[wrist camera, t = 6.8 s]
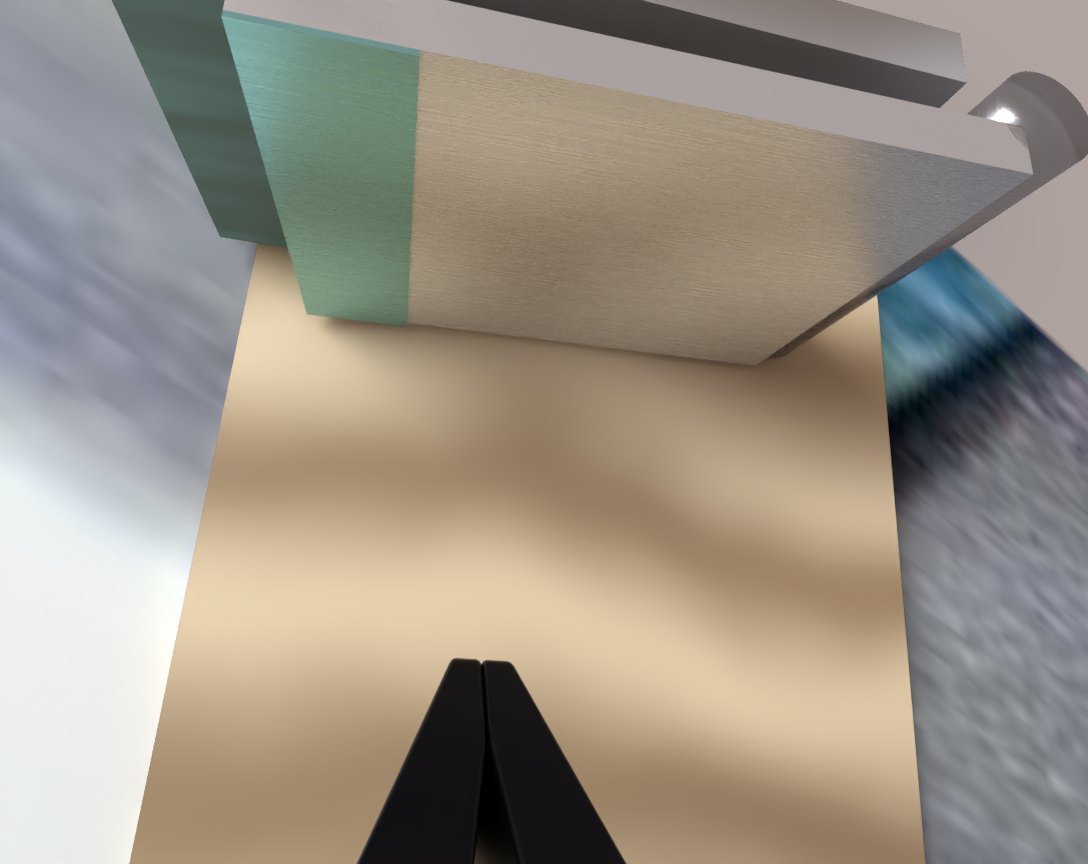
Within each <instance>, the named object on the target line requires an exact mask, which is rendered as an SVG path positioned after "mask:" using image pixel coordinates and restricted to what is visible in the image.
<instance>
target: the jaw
mask: <svg viewBox="0 0 1088 864" xmlns="http://www.w3.org/2000/svg"><path fill="white" fill-rule="evenodd" d="M221 17H222V21H223V24H224V27H225V31H226V34H227V38H228V41H229V45H230V48H231V52H232V55H233V59H234V62H235V66H236V69H237V73H238V76H239V80H240V83H241V87H242V90H243V94H244V97H245V101H246V104H247V107H248V111H249V114H250V118H251V121H252V125H253V128H254V132H255V135H256V139H257V142H258V146H259V149H260V153H261V156H262V160H263V163H264V167H265V170H266V174H267V177H268V181H269V184H270V188H271V191H272V194H273V198H274V201H275V205H276V208H277V212H278V215H279V219H280V222H281V226H282V229H283V233H284V236H285V240H286V243H287V247H288V250H289V254H290V257H291V261H292V264H293V268H294V271H295V275H296V278H297V281H298V285H299V288H300V292H301V295H302V299H303V302H304V306H305V309H306V313H307V314H308V315H317V316H325V317H333V318H341V319H349V320H358V321H366V322H374V323H382V324H390V325H398V326H407V323H412V324H420V325H428V326H437V327H445V328H453V329H461V330H469V331H477V332H485V333H493V334H501V335H510V336H518V337H526V338H534V339H542V340H550V341H558V342H566V343H574V344H583V345H591V346H599V347H607V348H615V349H623V350H631V351H639V352H648V353H656V354H664V355H672V356H680V357H688V358H696V359H704V360H712V361H721V362H729V363H737V364H745V365H753V366H756V365H757V364H758V363H760V362H761V361H763V360H764V359H766V358H767V357H769V358H780V357H783V356H785V355H787V354H789V353H790V352H792V351H793V350H795V349H796V348H798V347H799V346H801V345H802V344H804V343H805V342H807V341H808V340H810V339H811V338H813V337H814V336H816V335H817V334H819V333H820V332H822V331H823V330H825V329H826V328H828V327H830V326H831V325H833V324H834V323H836V322H837V321H839V320H840V319H842V318H843V317H845V316H846V315H848V314H849V313H851V312H852V311H854V310H855V309H857V308H858V307H860V306H861V305H863V304H864V303H866V302H867V301H869V300H870V299H872V298H873V297H875V296H876V295H878V294H879V293H881V292H882V291H884V290H886V289H887V288H889V287H890V286H892V285H893V284H895V283H896V282H898V281H899V280H901V279H902V278H904V277H905V276H907V275H908V274H910V273H911V272H913V271H914V270H916V269H917V268H919V267H920V266H922V265H923V264H925V263H926V262H928V261H929V260H931V259H932V258H934V257H935V256H937V255H938V254H940V253H941V252H943V251H945V250H946V249H948V248H949V247H951V246H952V245H954V244H955V243H957V242H958V241H960V240H961V239H962V238H964V237H966V236H967V235H969V234H970V233H972V232H973V231H975V230H976V229H978V228H979V227H981V226H982V225H984V224H985V223H987V222H988V221H990V220H991V219H993V218H994V217H996V216H997V215H999V214H1000V213H1002V212H1003V211H1005V210H1006V209H1008V208H1010V207H1011V206H1012V205H1014V204H1016V203H1017V202H1018V201H1020V200H1022V199H1023V198H1025V197H1026V196H1028V195H1029V194H1031V193H1032V192H1034V191H1035V190H1037V189H1038V188H1040V187H1041V186H1043V185H1044V184H1046V183H1047V182H1049V181H1050V180H1052V179H1053V178H1055V177H1056V176H1058V175H1059V174H1061V173H1063V172H1064V171H1065V170H1067V169H1068V168H1070V167H1071V166H1073V165H1075V164H1076V163H1077V162H1079V161H1081V160H1082V159H1083V158H1084V157H1085V156H1086V155H1087V154H1088V116H1087V114H1086V112H1085V110H1084V109H1083V107H1082V106H1081V104H1080V102H1079V101H1078V100H1077V99H1076V97H1075V96H1074V95H1073V94H1072V93H1071V92H1070V91H1069V90H1068V89H1067V88H1065V87H1064V86H1063V85H1062V84H1060V83H1059V82H1057V81H1056V80H1054V79H1052V78H1050V77H1048V76H1046V75H1043V74H1040V73H1036V72H1027V71H1026V72H1019V73H1016V74H1014V75H1012V76H1011V77H1010V78H1008V79H1007V80H1006V81H1004V82H1003V83H1002V84H1001V85H1000V86H999V87H998V88H996V89H995V90H994V91H993V92H992V93H991V94H990V95H988V96H987V97H986V98H985V99H984V100H983V101H982V102H980V103H979V104H978V105H977V106H976V107H975V108H974V109H972V110H971V111H970V112H969V113H968V114H963V113H959V112H954V111H949V110H945V109H940V108H936V107H931V106H927V105H922V104H918V103H913V102H909V101H904V100H899V99H895V98H890V97H886V96H881V95H877V94H872V93H867V92H863V91H858V90H854V89H849V88H845V87H840V86H835V85H831V84H826V83H822V82H817V81H813V80H808V79H804V78H799V77H794V76H790V75H785V74H781V73H776V72H772V71H767V70H762V69H758V68H753V67H749V66H744V65H740V64H735V63H731V62H726V61H721V60H717V59H712V58H708V57H703V56H699V55H694V54H689V53H685V52H680V51H676V50H671V49H667V48H662V47H658V46H653V45H648V44H644V43H639V42H635V41H630V40H626V39H621V38H616V37H612V36H607V35H603V34H598V33H594V32H589V31H584V30H580V29H575V28H571V27H566V26H562V25H557V24H553V23H548V22H543V21H539V20H534V19H530V18H525V17H521V16H516V15H511V14H507V13H502V12H498V11H493V10H489V9H484V8H480V7H475V6H470V5H466V4H461V3H457V2H452V1H448V0H225V1H224V6H223V10H222V15H221Z"/></svg>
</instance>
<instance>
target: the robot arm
mask: <svg viewBox="0 0 1088 864" xmlns="http://www.w3.org/2000/svg"><path fill="white" fill-rule="evenodd" d="M356 864H627V863H626V862H625V860H624V858H623V856H622V855H621V853H620V851H619V849H618V848H617V846H616V844H615V842H614V841H613V839H612V837H611V835H610V834H609V832H608V830H607V828H606V827H605V825H604V823H603V821H602V820H601V818H600V816H599V814H598V813H597V811H596V809H595V807H594V806H593V804H592V802H591V800H590V799H589V797H588V795H587V793H586V792H585V790H584V788H583V786H582V784H581V783H580V781H579V779H578V777H577V776H576V774H575V772H574V770H573V769H572V767H571V765H570V763H569V762H568V760H567V758H566V756H565V755H564V753H563V751H562V749H561V748H560V746H559V744H558V742H557V741H556V739H555V737H554V735H553V734H552V732H551V730H550V728H549V727H548V725H547V723H546V721H545V720H544V718H543V716H542V714H541V713H540V711H539V709H538V707H537V706H536V704H535V702H534V700H533V698H532V697H531V695H530V693H529V691H528V690H527V688H526V686H525V684H524V683H523V681H522V679H521V677H520V676H519V674H518V672H517V670H516V669H515V667H514V665H513V664H512V663H510V662H509V661H498V660H485V661H483V662H482V663H480V661H479V660H477V659H465V658H454V659H452V660H451V661H450V663H449V665H448V667H447V669H446V671H445V673H444V676H443V678H442V680H441V682H440V684H439V686H438V688H437V691H436V693H435V695H434V697H433V699H432V701H431V704H430V706H429V708H428V710H427V712H426V714H425V717H424V719H423V721H422V723H421V725H420V727H419V729H418V732H417V734H416V736H415V738H414V740H413V742H412V745H411V747H410V749H409V751H408V753H407V755H406V758H405V760H404V762H403V764H402V766H401V768H400V770H399V773H398V775H397V777H396V779H395V781H394V783H393V786H392V788H391V790H390V792H389V794H388V796H387V799H386V801H385V803H384V805H383V807H382V809H381V811H380V814H379V816H378V818H377V820H376V822H375V824H374V827H373V829H372V831H371V833H370V835H369V837H368V839H367V842H366V844H365V846H364V848H363V850H362V852H361V855H360V857H359V859H358V861H357V863H356Z"/></svg>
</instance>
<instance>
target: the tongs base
mask: <svg viewBox="0 0 1088 864" xmlns="http://www.w3.org/2000/svg"><path fill="white" fill-rule="evenodd" d="M112 1H113V4H114V6H115V8H116V10H117V12H118V15H119V17H120V19H121V21H122V23H123V26H124V28H125V30H126V32H127V34H128V36H129V39H130V41H131V43H132V45H133V47H134V50H135V52H136V54H137V56H138V58H139V60H140V63H141V65H142V67H143V69H144V71H145V74H146V76H147V78H148V80H149V82H150V84H151V87H152V89H153V91H154V93H155V95H156V98H157V100H158V102H159V104H160V106H161V109H162V111H163V113H164V115H165V117H166V119H167V122H168V124H169V126H170V128H171V130H172V133H173V135H174V137H175V139H176V141H177V143H178V146H179V148H180V150H181V152H182V154H183V157H184V159H185V161H186V163H187V165H188V167H189V170H190V172H191V174H192V176H193V178H194V181H195V183H196V185H197V187H198V189H199V192H200V194H201V196H202V198H203V200H204V202H205V205H206V207H207V209H208V211H209V213H210V216H211V218H212V220H213V222H214V224H215V226H216V229H217V231H218V233H219V235H220V237H225V238H231V239H237V240H243V241H250V242H256V243H258V245H257V250H256V255H255V260H254V265H253V269H252V274H251V279H250V284H249V289H248V294H247V298H246V303H245V308H244V313H243V318H242V323H241V327H240V332H239V337H238V342H237V347H236V352H235V356H234V361H233V366H232V371H231V376H230V381H229V385H228V390H227V395H226V400H225V405H224V410H223V414H222V419H221V424H220V429H219V434H218V439H217V443H216V448H215V453H214V458H213V463H212V468H211V472H210V477H209V482H208V487H207V492H206V497H205V501H204V506H203V511H202V516H201V521H200V526H199V530H198V535H197V540H196V545H195V550H194V554H193V559H192V564H191V569H190V574H189V579H188V583H187V588H186V593H185V598H184V603H183V608H182V612H181V617H180V622H179V627H178V632H177V637H176V641H175V646H174V651H173V656H172V661H171V666H170V670H169V675H168V680H167V685H166V690H165V695H164V699H163V704H162V709H161V714H160V719H159V724H158V728H157V733H156V738H155V743H154V748H153V753H152V757H151V762H150V767H149V772H148V777H147V782H146V786H145V791H144V796H143V801H142V806H141V811H140V815H139V820H138V825H137V830H136V835H135V840H134V844H133V849H132V854H131V859H130V864H356V863H357V861H358V859H359V857H360V855H361V852H362V850H363V848H364V846H365V844H366V842H367V839H368V837H369V835H370V833H371V831H372V829H373V827H374V824H375V822H376V820H377V818H378V816H379V814H380V811H381V809H382V807H383V805H384V803H385V801H386V799H387V796H388V794H389V792H390V790H391V788H392V786H393V783H394V781H395V779H396V777H397V775H398V773H399V770H400V768H401V766H402V764H403V762H404V760H405V758H406V755H407V753H408V751H409V749H410V747H411V745H412V742H413V740H414V738H415V736H416V734H417V732H418V729H419V727H420V725H421V723H422V721H423V719H424V717H425V714H426V712H427V710H428V708H429V706H430V704H431V701H432V699H433V697H434V695H435V693H436V691H437V688H438V686H439V684H440V682H441V680H442V678H443V676H444V673H445V671H446V669H447V667H448V665H449V663H450V661H451V660H452V659H454V658H465V659H477V660H479V661H480V663H482V662H483V661H485V660H498V661H509V662H510V663H512V664H513V665H514V667H515V669H516V670H517V672H518V674H519V676H520V677H521V679H522V681H523V683H524V684H525V686H526V688H527V690H528V691H529V693H530V695H531V697H532V698H533V700H534V702H535V704H536V706H537V707H538V709H539V711H540V713H541V714H542V716H543V718H544V720H545V721H546V723H547V725H548V727H549V728H550V730H551V732H552V734H553V735H554V737H555V739H556V741H557V742H558V744H559V746H560V748H561V749H562V751H563V753H564V755H565V756H566V758H567V760H568V762H569V763H570V765H571V767H572V769H573V770H574V772H575V774H576V776H577V777H578V779H579V781H580V783H581V784H582V786H583V788H584V790H585V792H586V793H587V795H588V797H589V799H590V800H591V802H592V804H593V806H594V807H595V809H596V811H597V813H598V814H599V816H600V818H601V820H602V821H603V823H604V825H605V827H606V828H607V830H608V832H609V834H610V835H611V837H612V839H613V841H614V842H615V844H616V846H617V848H618V849H619V851H620V853H621V855H622V856H623V858H624V860H625V862H626V863H627V864H925V854H924V842H923V830H922V818H921V806H920V795H919V783H918V771H917V759H916V748H915V736H914V724H913V712H912V700H911V689H910V677H909V665H908V653H907V642H906V630H905V618H904V606H903V594H902V583H901V571H900V559H899V547H898V535H897V524H896V512H895V500H894V488H893V477H892V465H891V453H890V441H889V429H888V418H887V406H886V394H885V382H884V371H883V359H882V347H881V335H880V323H879V312H878V300H877V295H876V296H875V297H873V298H872V299H870V300H869V301H867V302H866V303H864V304H863V305H861V306H860V307H858V308H857V309H855V310H854V311H852V312H851V313H849V314H848V315H846V316H845V317H843V318H842V319H840V320H839V321H837V322H836V323H834V324H833V325H831V326H830V327H828V328H826V329H825V330H823V331H822V332H820V333H819V334H817V335H816V336H814V337H813V338H811V339H810V340H808V341H807V342H805V343H804V344H802V345H801V346H799V347H798V348H796V349H795V350H793V351H792V352H790V353H789V354H787V355H785V356H783V357H780V358H769V357H767V358H766V359H764V360H763V361H761V362H760V363H758V364H757V365H756V366H753V365H745V364H737V363H729V362H721V361H712V360H704V359H696V358H688V357H680V356H672V355H664V354H656V353H648V352H639V351H631V350H623V349H615V348H607V347H599V346H591V345H583V344H574V343H566V342H558V341H550V340H542V339H534V338H526V337H518V336H510V335H501V334H493V333H485V332H477V331H469V330H461V329H453V328H445V327H437V326H428V325H420V324H412V323H407V326H398V325H390V324H382V323H374V322H366V321H358V320H349V319H341V318H333V317H325V316H317V315H308V314H307V313H306V309H305V306H304V302H303V299H302V295H301V292H300V288H299V285H298V281H297V278H296V275H295V271H294V268H293V264H292V261H291V257H290V254H289V250H288V247H287V243H286V240H285V236H284V233H283V229H282V226H281V222H280V219H279V215H278V212H277V208H276V205H275V201H274V198H273V194H272V191H271V188H270V184H269V181H268V177H267V174H266V170H265V167H264V163H263V160H262V156H261V153H260V149H259V146H258V142H257V139H256V135H255V132H254V128H253V125H252V121H251V118H250V114H249V111H248V107H247V104H246V101H245V97H244V94H243V90H242V87H241V83H240V80H239V76H238V73H237V69H236V66H235V62H234V59H233V55H232V52H231V48H230V45H229V41H228V38H227V34H226V31H225V27H224V24H223V21H222V17H221V15H222V10H223V6H224V1H225V0H112ZM448 1H452V2H457V3H461V4H466V5H470V6H475V7H480V8H484V9H489V10H493V11H498V12H502V13H507V14H511V15H516V16H521V17H525V18H530V19H534V20H539V21H543V22H548V23H553V24H557V25H562V26H566V27H571V28H575V29H580V30H584V31H589V32H594V33H598V34H603V35H607V36H612V37H616V38H621V39H626V40H630V41H635V42H639V43H644V44H648V45H653V46H658V47H662V48H667V49H671V50H676V51H680V52H685V53H689V54H694V55H699V56H703V57H708V58H712V59H717V60H721V61H726V62H731V63H735V64H740V65H744V66H749V67H753V68H758V69H762V70H767V71H772V72H776V73H781V74H785V75H790V76H794V77H799V78H804V79H808V80H813V81H817V82H822V83H826V84H831V85H835V86H840V87H845V88H849V89H854V90H858V91H863V92H867V93H872V94H877V95H881V96H886V97H890V98H895V99H899V100H904V101H909V102H913V103H918V104H922V105H927V106H931V107H936V108H940V107H941V106H942V105H943V104H944V103H945V102H946V101H948V100H949V99H950V98H951V97H952V96H953V95H954V94H955V93H956V92H957V91H958V90H959V89H961V88H962V87H963V85H965V84H966V83H967V80H966V74H965V66H964V59H963V52H962V45H961V38H960V34H959V33H955V32H951V31H948V30H944V29H941V28H937V27H933V26H930V25H926V24H922V23H918V22H915V21H911V20H907V19H903V18H900V17H896V16H892V15H889V14H885V13H881V12H877V11H874V10H870V9H866V8H863V7H859V6H855V5H852V4H848V3H844V2H841V1H836V0H448Z"/></svg>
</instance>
